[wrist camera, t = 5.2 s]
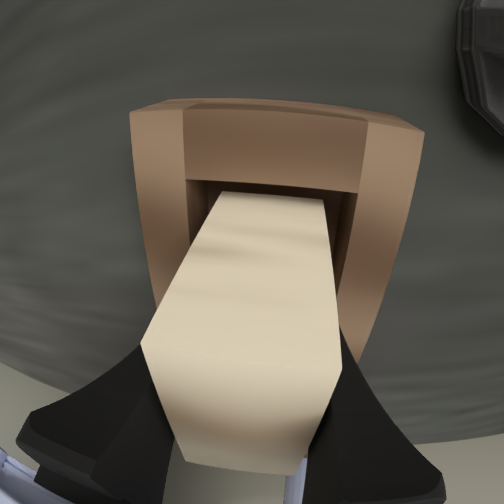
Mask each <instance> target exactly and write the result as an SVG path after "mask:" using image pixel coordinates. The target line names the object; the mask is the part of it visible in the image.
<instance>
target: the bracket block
mask: <svg viewBox="0 0 504 504" xmlns="http://www.w3.org/2000/svg"><path fill="white" fill-rule="evenodd" d="M140 344H141V347H142V350H143V353H144V356H145V359H146V362H147V365H148V368H149V371H150V374H151V377H152V379H153V382H154V385H155V388H156V390H157V393H158V396H159V398H160V401H161V404H162V406H163V409H164V411H165V414H166V416H167V419H168V421H169V424H170V426H171V429H172V431H173V433H174V436H175V438H176V440H177V442H178V445H179V447H180V449H181V452H182V454H183V456H184V458H185V460H186V461H187V462H193V463H197V464H202V465H207V466H213V467H219V468H224V469H231V470H238V471H245V472H253V473H262V474H272V475H285V476H294V475H295V473H296V471H297V469H298V468H299V466H300V464H301V462H302V460H303V458H304V455H305V453H306V451H307V449H308V447H309V445H310V443H311V441H312V439H313V437H314V435H315V432H316V430H317V428H318V426H319V424H320V421H321V419H322V417H323V415H324V412H325V410H326V408H327V405H328V403H329V401H330V398H331V396H332V393H333V391H334V388H335V386H336V383H337V381H338V378H339V376H340V373H341V371H342V359H341V346H340V334H339V322H338V312H337V302H336V293H335V284H334V275H333V267H332V259H331V252H330V244H329V237H328V230H327V223H326V217H325V210H324V204H323V200H321V199H311V198H301V197H290V196H279V195H267V194H255V193H241V192H226V191H222V192H221V194H220V196H219V197H218V199H217V201H216V203H215V204H214V206H213V208H212V210H211V211H210V213H209V215H208V217H207V218H206V220H205V222H204V224H203V225H202V227H201V229H200V231H199V233H198V234H197V236H196V238H195V240H194V242H193V243H192V245H191V247H190V249H189V251H188V252H187V254H186V256H185V258H184V260H183V262H182V264H181V265H180V267H179V269H178V271H177V273H176V275H175V277H174V278H173V280H172V282H171V284H170V286H169V288H168V290H167V292H166V294H165V296H164V297H163V299H162V301H161V303H160V305H159V307H158V309H157V311H156V313H155V315H154V317H153V319H152V321H151V323H150V325H149V327H148V329H147V331H146V333H145V335H144V337H143V339H142V341H141V343H140Z"/></svg>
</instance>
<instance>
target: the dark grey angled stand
mask: <svg viewBox="0 0 504 504" xmlns="http://www.w3.org/2000/svg"><path fill="white" fill-rule="evenodd" d="M456 53H457V57H458V62H459V67H460V72H461V77H462V83H463V88H464V95H465V100H466V102H467V103H468V104H469V105H470V106H471V107H472V108H473V109H474V110H475V111H476V112H477V113H478V114H480V115H481V116H482V117H483V118H484V119H485V120H486V121H487V122H488V123H489V124H490V125H491V126H492V127H493V128H494V129H495V130H496V131H497V132H498V133H499V134H500V135H503V136H504V0H461V3H460V5H459V8H458V10H457V39H456Z"/></svg>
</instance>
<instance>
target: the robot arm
mask: <svg viewBox="0 0 504 504" xmlns="http://www.w3.org/2000/svg"><path fill="white" fill-rule="evenodd" d="M339 334H340V346H341V359H342V371H341V373H340V376H339V378H338V381H337V383H336V386H335V388H334V391H333V393H332V396H331V398H330V401H329V403H328V405H327V408H326V410H325V412H324V415H323V417H322V419H321V421H320V424H319V426H318V428H317V430H316V432H315V435H314V437H313V439H312V441H311V443H310V445H309V447H308V456H307V458H303V460H302V462H301V464H300V466H299V468H298V469H297V471H296V473H295V475H294V476H286V482H285V491H284V501H283V504H443V503H444V502H445V501H446V490H445V484H444V480H443V476H442V473H441V472H440V471H439V470H438V469H437V468H436V467H435V466H433V465H432V464H431V463H430V462H429V461H428V460H427V459H426V458H425V457H424V456H423V455H422V454H421V453H420V452H419V451H418V450H417V449H416V448H415V447H414V446H413V445H412V444H411V443H410V441H409V440H408V439H407V438H406V437H405V435H404V434H403V433H402V432H401V431H400V429H399V428H398V427H397V426H396V425H395V423H394V422H393V421H392V420H391V418H390V417H389V416H388V414H387V413H386V411H385V410H384V409H383V407H382V406H381V404H380V403H379V401H378V400H377V398H376V397H375V395H374V394H373V392H372V390H371V389H370V387H369V385H368V384H367V382H366V380H365V378H364V377H363V375H362V373H361V371H360V369H359V367H358V365H357V363H356V361H355V359H354V357H353V355H352V353H351V351H350V349H349V347H348V344H347V342H346V340H345V338H344V335H343V333H342V330H341V328H340V325H339ZM174 438H175V436H174V433H173V431H172V429H171V426H170V424H169V421H168V419H167V416H166V414H165V411H164V409H163V406H162V404H161V401H160V398H159V396H158V393H157V390H156V388H155V385H154V382H153V379H152V377H151V374H150V371H149V368H148V365H147V362H146V359H145V356H144V353H143V350H142V347H141V344H140V345H139V346H138V347H137V348H136V349H135V350H134V351H132V352H131V353H130V354H129V355H128V356H127V357H126V358H124V359H123V360H122V361H121V362H119V363H118V364H117V365H116V366H114V367H113V368H112V369H110V370H109V371H108V372H106V373H105V374H103V375H102V376H100V377H99V378H97V379H96V380H94V381H93V382H91V383H90V384H88V385H87V386H85V387H83V388H81V389H80V390H78V391H76V392H74V393H72V394H70V395H69V396H67V397H65V398H63V399H61V400H59V401H57V402H54V403H52V404H50V405H47V406H45V407H42V408H40V409H37V410H35V411H32V412H31V413H30V414H29V416H28V417H27V419H26V421H25V423H24V425H23V427H22V429H21V431H20V433H19V434H18V436H17V438H16V444H17V445H18V446H19V448H21V449H22V450H23V451H24V452H25V453H26V454H27V455H29V456H30V457H31V458H32V459H34V460H35V461H36V462H38V463H39V464H40V467H39V469H38V472H36V471H34V470H32V469H31V468H29V467H27V466H26V465H24V464H22V463H21V462H19V461H17V460H16V459H14V458H13V457H11V456H10V455H8V454H7V453H6V452H5V451H4V450H3V449H2V448H0V504H162V501H163V494H164V488H165V482H166V476H167V471H168V466H169V461H170V456H171V451H172V447H173V442H174Z"/></svg>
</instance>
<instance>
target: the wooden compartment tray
mask: <svg viewBox="0 0 504 504" xmlns="http://www.w3.org/2000/svg"><path fill="white" fill-rule="evenodd" d="M129 113H130V128H131V140H132V152H133V162H134V171H135V180H136V189H137V197H138V204H139V212H140V219H141V225H142V232H143V238H144V244H145V250H146V256H147V262H148V267H149V273H150V278H151V283H152V288H153V293H154V298H155V303H156V308H157V309H158V307H159V305H160V303H161V301H162V299H163V297H164V296H165V294H166V292H167V290H168V288H169V286H170V284H171V282H172V280H173V278H174V277H175V275H176V273H177V271H178V269H179V267H180V265H181V264H182V262H183V260H184V258H185V256H186V254H187V252H188V251H189V249H190V247H191V245H192V243H193V242H194V240H195V238H196V236H197V234H198V233H199V231H200V229H201V227H202V225H203V224H204V222H205V220H206V218H207V217H208V215H209V213H210V211H211V210H212V208H213V206H214V204H215V203H216V201H217V199H218V197H219V196H220V194H221V192H222V191H226V192H241V193H255V194H267V195H279V196H290V197H301V198H311V199H321V200H323V204H324V210H325V217H326V223H327V230H328V237H329V244H330V252H331V259H332V267H333V275H334V284H335V293H336V302H337V312H338V322H339V325H340V328H341V330H342V333H343V335H344V338H345V340H346V342H347V344H348V347H349V349H350V351H351V353H352V355H353V357H354V359H355V361H356V363H357V364H358V362H359V360H360V357H361V355H362V352H363V350H364V347H365V345H366V342H367V340H368V337H369V335H370V332H371V329H372V327H373V324H374V321H375V319H376V316H377V313H378V311H379V308H380V305H381V302H382V299H383V296H384V293H385V290H386V287H387V284H388V281H389V278H390V275H391V272H392V269H393V265H394V262H395V259H396V256H397V252H398V249H399V245H400V242H401V238H402V235H403V231H404V227H405V223H406V220H407V216H408V212H409V208H410V203H411V199H412V195H413V191H414V186H415V182H416V177H417V172H418V167H419V162H420V157H421V152H422V146H423V140H424V134H425V132H423V131H421V130H419V129H418V128H416V127H414V126H412V125H411V124H409V123H407V122H405V121H404V120H402V119H400V118H398V117H396V116H394V115H392V114H386V113H381V112H375V111H369V110H363V109H356V108H350V107H342V106H335V105H326V104H318V103H308V102H297V101H284V100H268V99H244V98H189V99H169V100H166V101H163V102H160V103H156V104H153V105H150V106H147V107H144V108H141V109H138V110H135V111H132V112H129ZM307 456H308V449H307V451H306V453H305V455H304V458H307Z"/></svg>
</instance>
